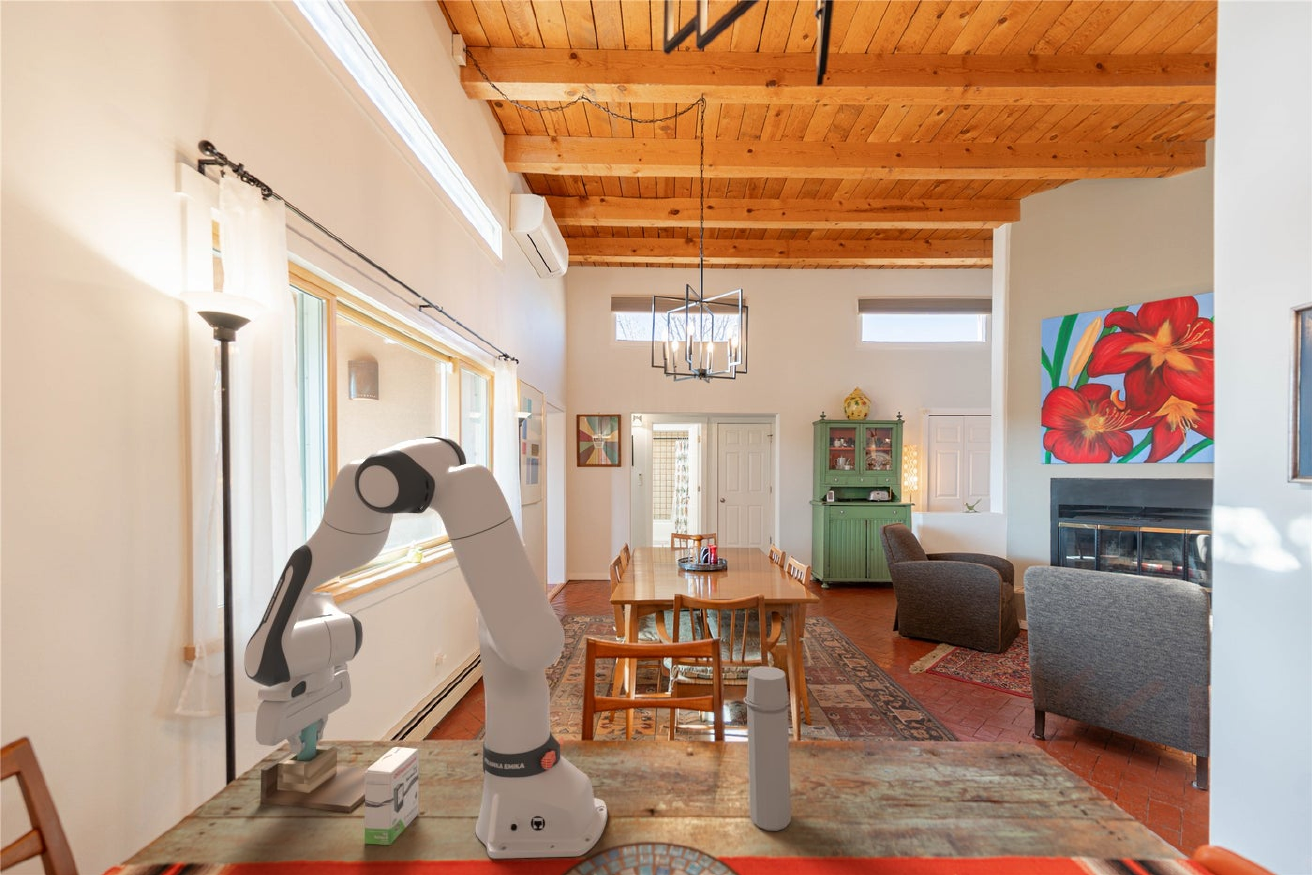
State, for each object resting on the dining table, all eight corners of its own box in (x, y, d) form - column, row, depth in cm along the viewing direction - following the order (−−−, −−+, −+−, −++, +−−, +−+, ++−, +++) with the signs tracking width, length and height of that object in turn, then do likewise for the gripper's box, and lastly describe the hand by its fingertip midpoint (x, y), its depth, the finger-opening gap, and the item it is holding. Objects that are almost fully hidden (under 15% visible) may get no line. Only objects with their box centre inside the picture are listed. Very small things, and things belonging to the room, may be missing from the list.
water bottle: (800, 830, 93) (796, 678, 95) (755, 836, 92) (751, 682, 93) (779, 798, 102) (775, 660, 104) (738, 803, 101) (735, 663, 102)
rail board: (392, 775, 112) (392, 745, 113) (350, 811, 101) (350, 777, 101) (311, 768, 116) (311, 738, 116) (260, 802, 104) (261, 769, 104)
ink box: (390, 846, 91) (390, 772, 92) (362, 844, 92) (363, 771, 93) (419, 814, 100) (419, 746, 100) (394, 812, 100) (394, 745, 101)
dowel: (319, 761, 110) (320, 710, 111) (307, 770, 107) (308, 717, 108) (305, 760, 111) (306, 709, 112) (292, 769, 108) (293, 716, 108)
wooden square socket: (336, 772, 112) (337, 747, 112) (309, 792, 105) (309, 765, 105) (306, 769, 113) (306, 744, 114) (277, 789, 106) (277, 762, 107)
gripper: (333, 656, 121) (332, 721, 120) (249, 694, 101) (247, 772, 100) (359, 657, 120) (358, 723, 119) (279, 696, 100) (277, 775, 99)
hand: (307, 746), depth 109 cm, fingers closed on dowel, 3 cm apart
